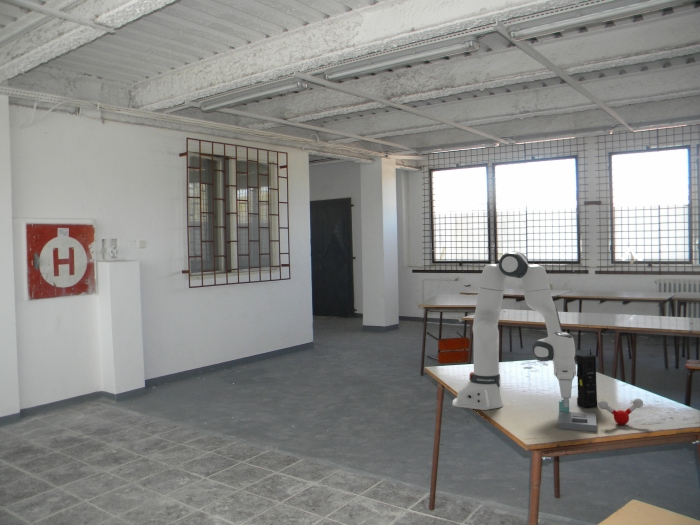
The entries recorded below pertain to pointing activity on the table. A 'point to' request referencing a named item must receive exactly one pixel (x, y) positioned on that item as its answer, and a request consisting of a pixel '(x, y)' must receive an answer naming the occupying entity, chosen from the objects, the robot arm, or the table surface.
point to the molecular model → (620, 415)
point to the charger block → (562, 406)
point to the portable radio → (586, 380)
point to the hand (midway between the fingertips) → (566, 403)
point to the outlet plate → (577, 421)
